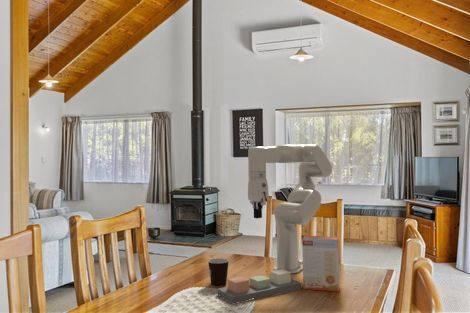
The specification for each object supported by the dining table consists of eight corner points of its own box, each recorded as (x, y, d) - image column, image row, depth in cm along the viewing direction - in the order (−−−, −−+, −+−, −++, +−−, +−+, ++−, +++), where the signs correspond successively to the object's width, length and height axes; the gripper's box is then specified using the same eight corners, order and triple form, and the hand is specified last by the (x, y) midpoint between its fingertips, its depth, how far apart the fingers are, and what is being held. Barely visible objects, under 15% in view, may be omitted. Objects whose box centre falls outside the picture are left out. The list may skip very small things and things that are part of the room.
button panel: (283, 281, 186) (283, 275, 186) (301, 288, 175) (301, 282, 175) (217, 295, 170) (217, 288, 170) (232, 304, 159) (232, 297, 159)
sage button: (262, 287, 177) (262, 275, 177) (270, 291, 171) (270, 278, 171) (249, 290, 174) (249, 277, 174) (258, 294, 168) (257, 281, 168)
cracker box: (339, 287, 176) (339, 236, 176) (338, 292, 170) (337, 239, 170) (305, 284, 181) (304, 234, 180) (302, 289, 175) (302, 237, 175)
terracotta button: (241, 289, 172) (240, 276, 172) (249, 293, 166) (249, 280, 166) (227, 291, 169) (227, 279, 168) (235, 296, 163) (235, 282, 163)
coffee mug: (226, 287, 178) (226, 263, 178) (206, 286, 180) (205, 262, 180) (232, 279, 190) (232, 256, 190) (213, 278, 191) (212, 256, 191)
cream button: (282, 280, 182) (281, 268, 182) (290, 284, 177) (290, 272, 176) (270, 283, 179) (270, 271, 179) (278, 287, 173) (278, 274, 173)
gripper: (274, 175, 183) (275, 219, 183) (255, 174, 196) (255, 215, 196) (259, 176, 179) (260, 221, 179) (240, 175, 192) (241, 216, 192)
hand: (257, 217), depth 188 cm, fingers closed
